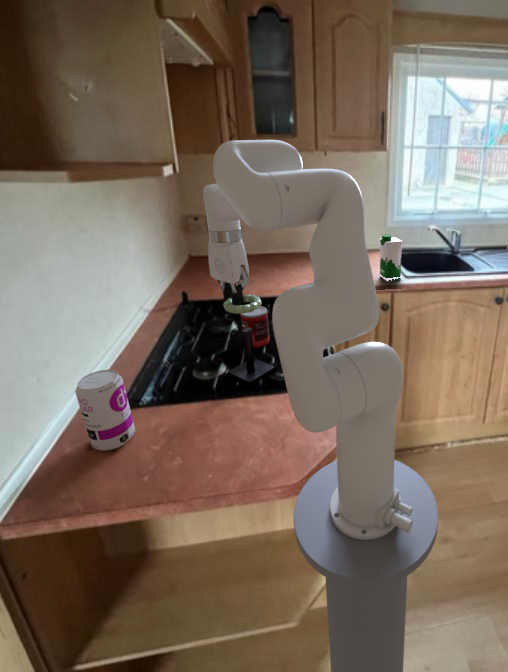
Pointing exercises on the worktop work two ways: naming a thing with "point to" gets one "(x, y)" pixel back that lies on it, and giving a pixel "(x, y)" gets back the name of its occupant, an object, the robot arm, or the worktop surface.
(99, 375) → the supplement can
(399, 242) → the milk carton
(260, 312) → the canned food
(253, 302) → the ring
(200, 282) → the worktop surface
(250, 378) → the stand
